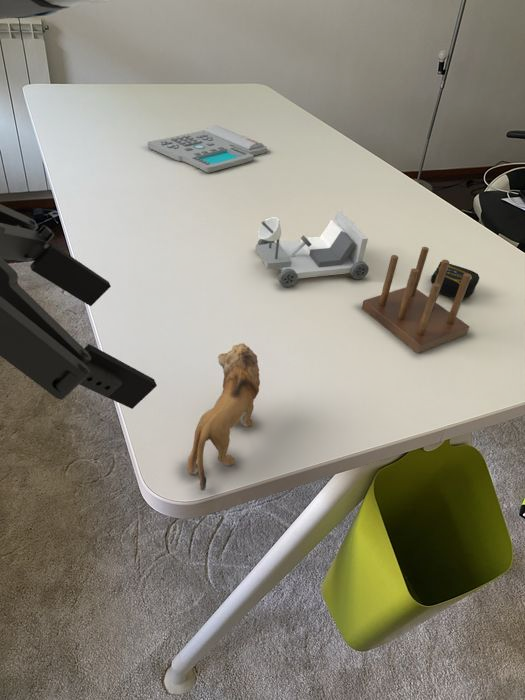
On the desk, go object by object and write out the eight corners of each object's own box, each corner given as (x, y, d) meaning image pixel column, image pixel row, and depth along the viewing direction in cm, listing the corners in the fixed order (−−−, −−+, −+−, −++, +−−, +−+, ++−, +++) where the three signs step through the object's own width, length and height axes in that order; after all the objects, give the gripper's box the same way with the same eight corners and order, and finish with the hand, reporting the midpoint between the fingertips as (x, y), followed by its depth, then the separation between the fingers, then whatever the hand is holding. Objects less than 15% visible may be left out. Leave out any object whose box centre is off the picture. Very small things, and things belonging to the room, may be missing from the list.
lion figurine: (219, 392, 66) (222, 332, 61) (262, 401, 66) (268, 342, 60) (178, 488, 55) (177, 426, 49) (230, 500, 54) (234, 439, 49)
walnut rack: (466, 334, 80) (489, 278, 74) (417, 353, 76) (436, 295, 70) (409, 293, 88) (425, 239, 82) (361, 308, 83) (374, 252, 77)
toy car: (268, 232, 79) (245, 198, 87) (262, 290, 85) (241, 253, 93) (379, 223, 84) (347, 192, 92) (366, 279, 90) (337, 245, 98)
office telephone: (220, 121, 141) (277, 143, 131) (219, 131, 142) (276, 154, 132) (146, 136, 126) (204, 162, 116) (146, 147, 128) (204, 174, 118)
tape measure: (475, 290, 90) (483, 270, 88) (465, 309, 85) (473, 288, 83) (435, 276, 93) (441, 256, 90) (423, 294, 88) (429, 273, 85)
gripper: (-179, 141, 39) (60, 288, 55) (-231, 368, 23) (129, 483, 39) (-114, 63, 38) (112, 235, 54) (-119, 243, 22) (205, 414, 38)
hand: (119, 339), depth 46 cm, fingers open, 13 cm apart
